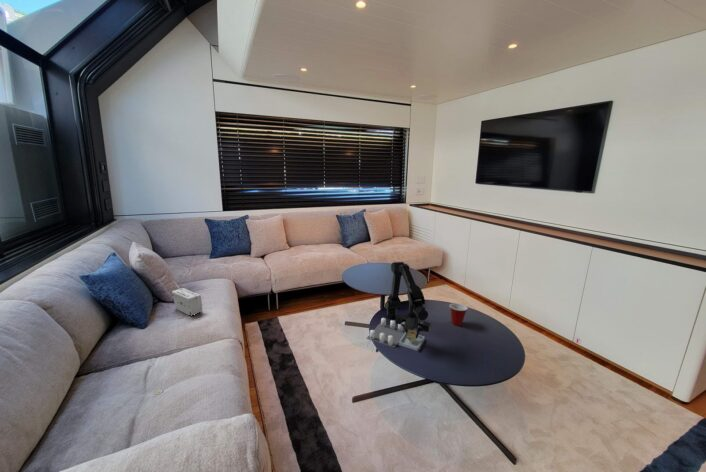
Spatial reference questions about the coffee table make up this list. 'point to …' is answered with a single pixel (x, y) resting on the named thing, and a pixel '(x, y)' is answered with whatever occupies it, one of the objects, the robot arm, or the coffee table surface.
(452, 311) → the plastic cup
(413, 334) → the tan faceted polyhedron
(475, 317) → the coffee table surface
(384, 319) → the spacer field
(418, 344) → the nut tray
